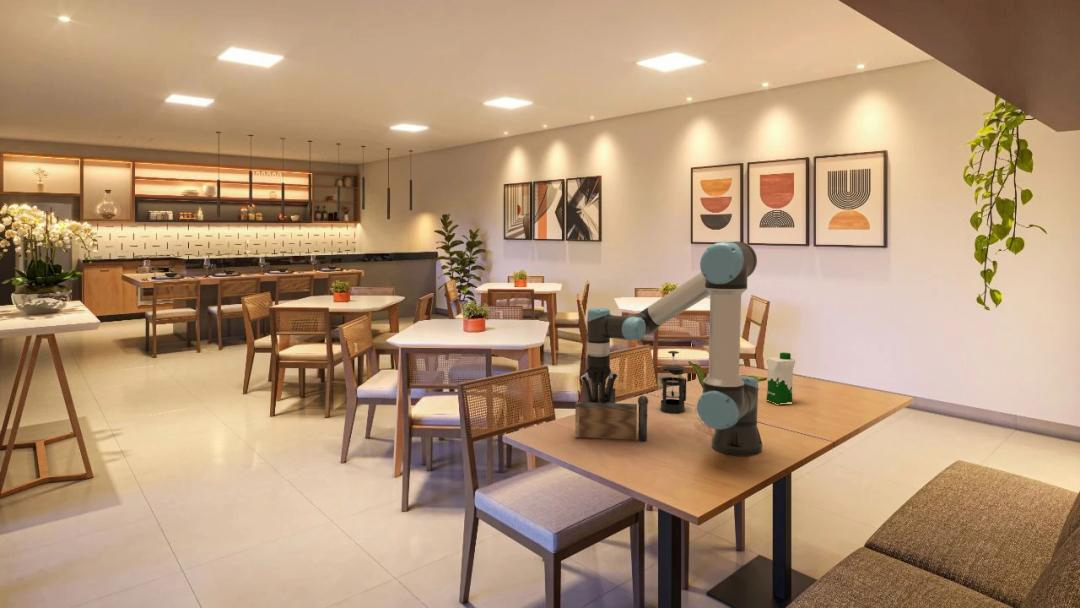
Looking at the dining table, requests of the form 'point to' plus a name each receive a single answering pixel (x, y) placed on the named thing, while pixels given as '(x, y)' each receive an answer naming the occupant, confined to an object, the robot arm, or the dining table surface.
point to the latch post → (612, 396)
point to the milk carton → (780, 378)
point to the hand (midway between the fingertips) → (598, 423)
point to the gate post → (642, 419)
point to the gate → (606, 420)
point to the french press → (672, 404)
